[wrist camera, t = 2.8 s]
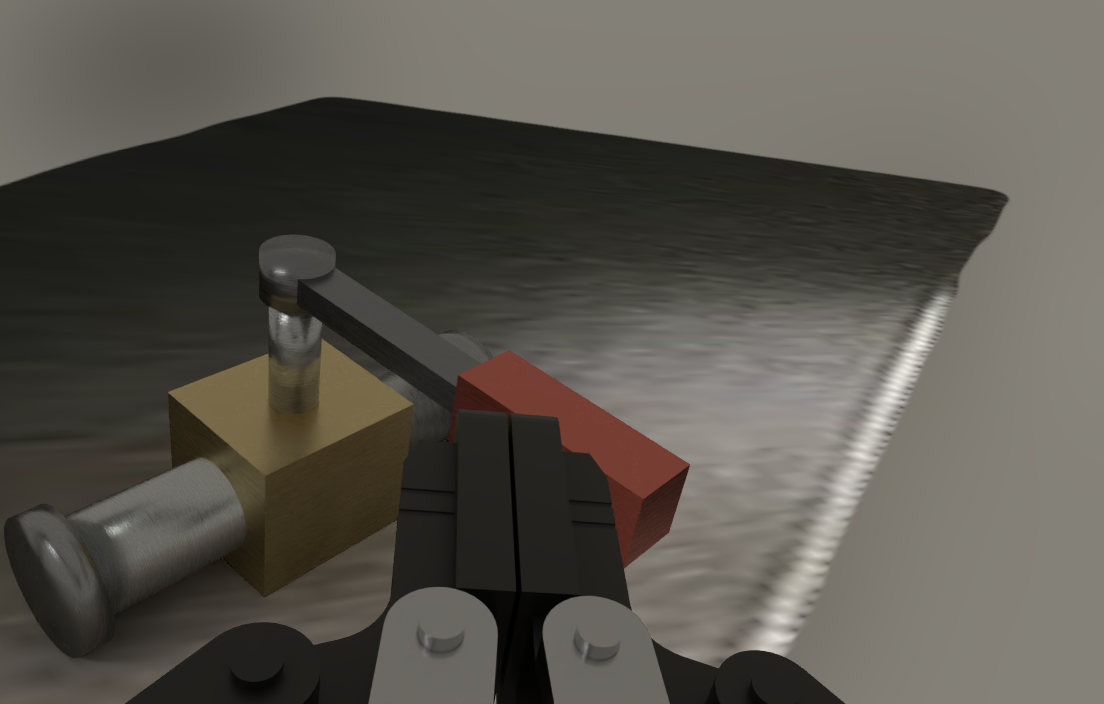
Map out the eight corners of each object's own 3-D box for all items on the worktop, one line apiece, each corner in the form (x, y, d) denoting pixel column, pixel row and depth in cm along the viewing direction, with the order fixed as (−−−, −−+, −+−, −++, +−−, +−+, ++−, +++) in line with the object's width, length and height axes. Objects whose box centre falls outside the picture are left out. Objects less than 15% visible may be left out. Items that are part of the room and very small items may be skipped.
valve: (96, 695, 38) (63, 449, 31) (9, 590, 41) (-38, 348, 34) (504, 456, 54) (539, 261, 47) (418, 395, 57) (439, 205, 50)
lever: (244, 299, 41) (243, 235, 39) (303, 279, 43) (305, 218, 41) (619, 572, 31) (639, 502, 29) (671, 529, 33) (693, 462, 31)
